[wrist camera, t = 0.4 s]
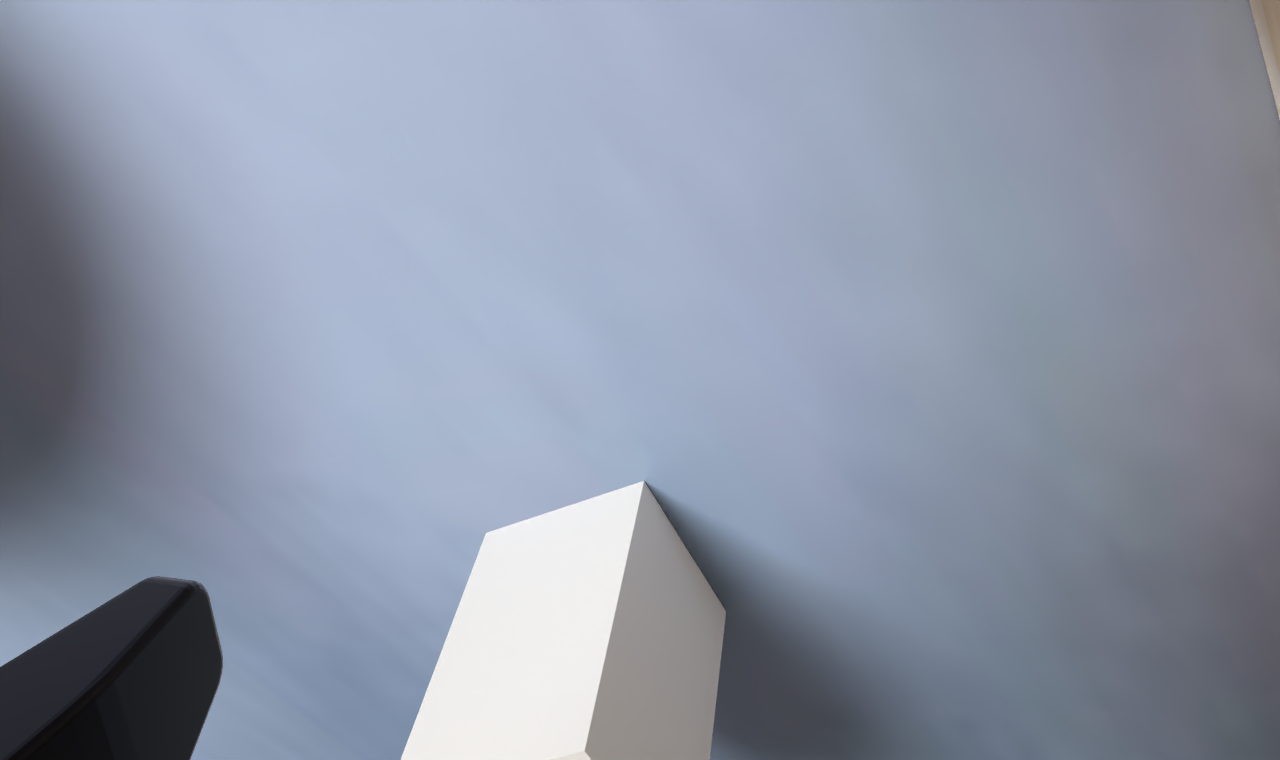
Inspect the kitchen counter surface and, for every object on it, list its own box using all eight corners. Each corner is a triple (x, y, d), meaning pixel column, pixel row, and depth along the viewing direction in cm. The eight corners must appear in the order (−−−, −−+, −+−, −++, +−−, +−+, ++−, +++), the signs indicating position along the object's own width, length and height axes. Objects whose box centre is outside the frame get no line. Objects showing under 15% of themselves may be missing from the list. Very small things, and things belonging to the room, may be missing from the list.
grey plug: (725, 611, 26) (689, 949, 20) (574, 653, 28) (491, 981, 21) (644, 481, 25) (572, 803, 18) (486, 532, 26) (366, 849, 19)
